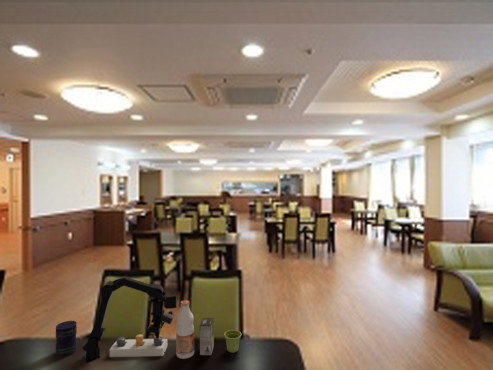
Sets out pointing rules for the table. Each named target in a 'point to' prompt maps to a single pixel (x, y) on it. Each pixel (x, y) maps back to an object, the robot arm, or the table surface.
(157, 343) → the knob
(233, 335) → the plant pot
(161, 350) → the console
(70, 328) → the storage jar
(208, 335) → the coffee box
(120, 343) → the knob
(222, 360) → the table surface
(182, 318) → the fruit juice
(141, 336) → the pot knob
